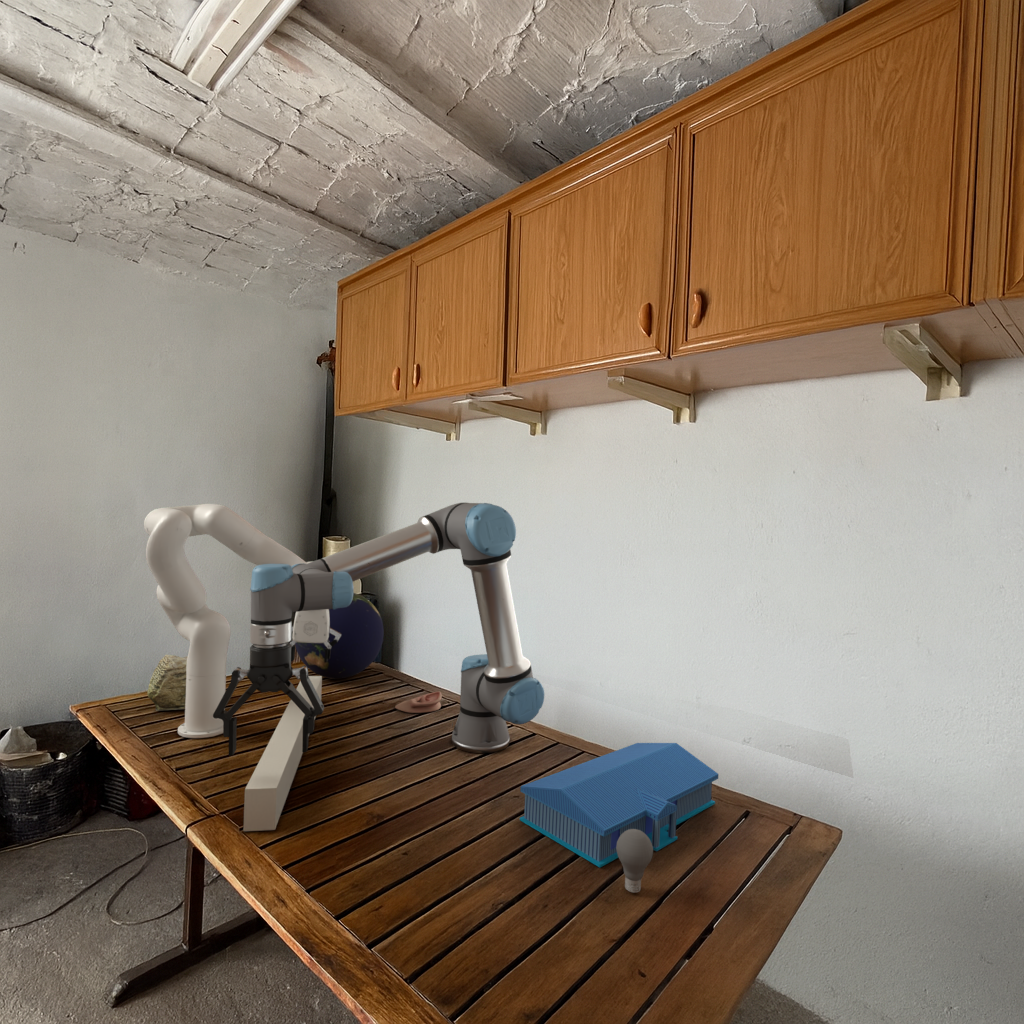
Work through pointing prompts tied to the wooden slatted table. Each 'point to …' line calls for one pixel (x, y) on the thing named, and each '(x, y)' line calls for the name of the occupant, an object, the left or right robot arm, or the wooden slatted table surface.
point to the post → (277, 767)
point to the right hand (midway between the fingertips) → (269, 751)
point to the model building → (619, 799)
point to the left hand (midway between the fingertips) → (309, 660)
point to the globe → (347, 641)
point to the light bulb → (634, 857)
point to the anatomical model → (421, 703)
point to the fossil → (169, 683)
